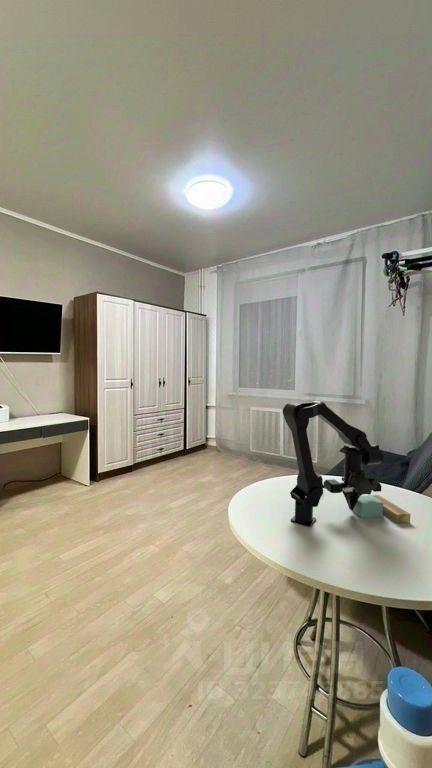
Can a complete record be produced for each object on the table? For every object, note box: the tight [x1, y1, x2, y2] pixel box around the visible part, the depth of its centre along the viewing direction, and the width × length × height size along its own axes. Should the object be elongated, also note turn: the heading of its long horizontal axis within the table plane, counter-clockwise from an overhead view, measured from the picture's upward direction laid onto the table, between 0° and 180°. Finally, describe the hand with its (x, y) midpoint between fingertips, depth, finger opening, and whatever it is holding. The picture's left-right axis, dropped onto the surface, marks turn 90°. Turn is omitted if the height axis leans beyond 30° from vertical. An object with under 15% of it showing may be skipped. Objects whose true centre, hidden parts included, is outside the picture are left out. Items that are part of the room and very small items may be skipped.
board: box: [367, 494, 411, 525], centre depth 114 cm, size 5×16×3 cm, turn 9°
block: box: [351, 494, 384, 519], centre depth 112 cm, size 8×6×5 cm
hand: (351, 509), depth 112 cm, fingers closed
